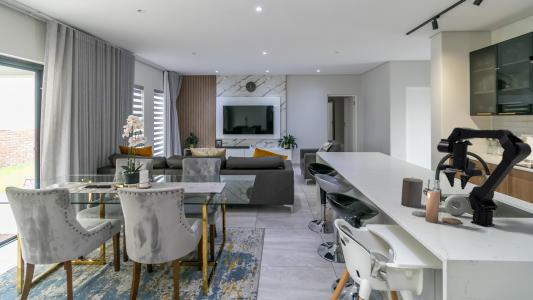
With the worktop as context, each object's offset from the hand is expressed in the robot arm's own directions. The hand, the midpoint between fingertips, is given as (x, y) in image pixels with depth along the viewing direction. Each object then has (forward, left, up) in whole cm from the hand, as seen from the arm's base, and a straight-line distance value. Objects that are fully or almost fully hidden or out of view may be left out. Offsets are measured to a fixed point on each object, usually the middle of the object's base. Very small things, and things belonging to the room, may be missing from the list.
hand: (457, 188), depth 151 cm
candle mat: (+6, +15, -13) cm, 21 cm away
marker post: (-3, +18, -13) cm, 22 cm away
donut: (0, 0, -13) cm, 13 cm away
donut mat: (-6, +10, -13) cm, 17 cm away
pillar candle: (+21, +6, -13) cm, 25 cm away
